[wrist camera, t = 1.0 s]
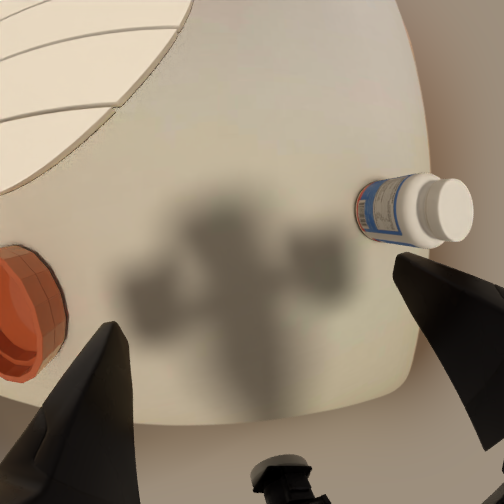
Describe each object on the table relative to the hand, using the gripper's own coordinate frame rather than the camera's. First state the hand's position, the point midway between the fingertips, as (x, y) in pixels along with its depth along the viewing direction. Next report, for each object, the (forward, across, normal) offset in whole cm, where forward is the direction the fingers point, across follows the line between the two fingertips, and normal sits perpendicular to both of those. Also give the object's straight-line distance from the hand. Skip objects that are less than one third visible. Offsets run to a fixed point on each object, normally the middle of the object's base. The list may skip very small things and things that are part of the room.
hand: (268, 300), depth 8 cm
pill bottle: (+13, -14, +5) cm, 20 cm away
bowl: (+12, +20, +6) cm, 25 cm away
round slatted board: (+25, +18, -21) cm, 37 cm away
